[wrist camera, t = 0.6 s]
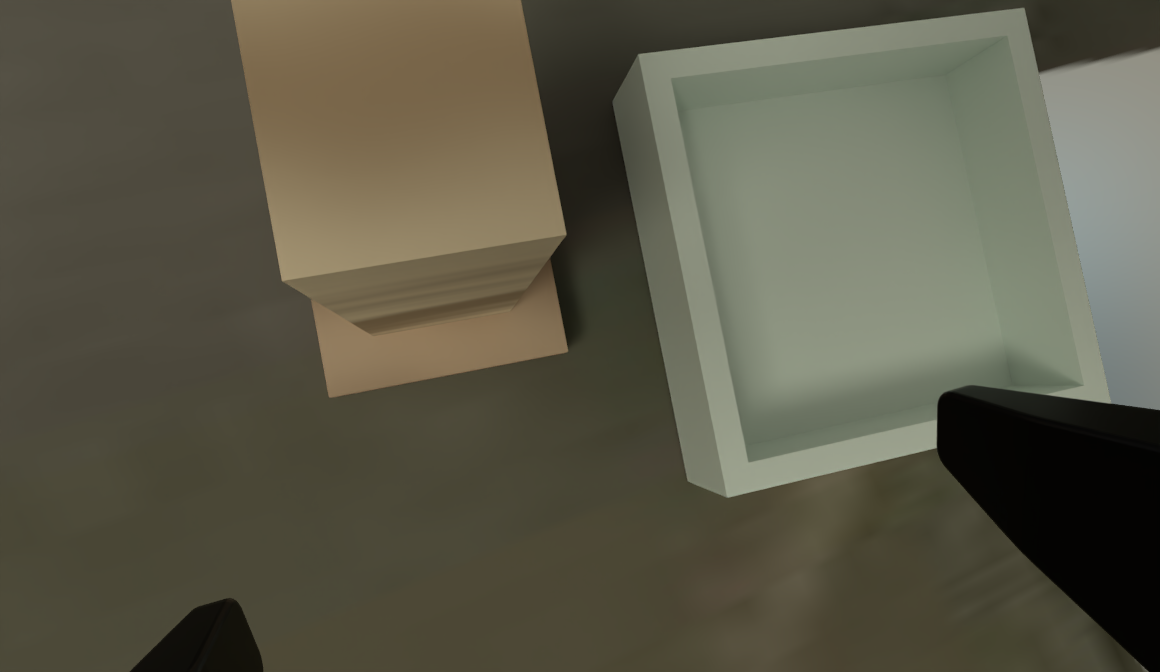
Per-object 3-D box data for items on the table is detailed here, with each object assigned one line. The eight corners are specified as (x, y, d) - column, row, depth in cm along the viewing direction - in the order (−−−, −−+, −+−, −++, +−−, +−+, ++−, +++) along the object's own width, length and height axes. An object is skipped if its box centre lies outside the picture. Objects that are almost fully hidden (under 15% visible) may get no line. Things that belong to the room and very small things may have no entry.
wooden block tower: (562, 353, 23) (683, 317, 11) (335, 397, 22) (184, 411, 10) (520, 138, 23) (593, -134, 11) (294, 170, 22) (94, -98, 10)
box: (1024, 403, 26) (1112, 406, 22) (687, 481, 24) (727, 497, 20) (949, 57, 26) (1024, 7, 23) (612, 101, 24) (638, 54, 21)
